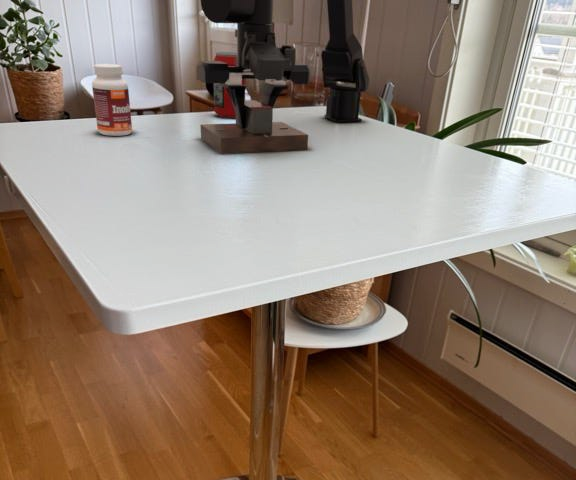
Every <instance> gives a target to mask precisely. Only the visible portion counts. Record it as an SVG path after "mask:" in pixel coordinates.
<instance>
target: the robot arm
mask: <svg viewBox="0 0 576 480" xmlns="http://www.w3.org/2000/svg"><path fill="white" fill-rule="evenodd" d="M200 6H201V10H202V12H203V14H204V16H205V18H206V19H207V20H209V21H210V22H212V23H214V24H236V28H237V29H234V37H235V38H236V53H237V58H235V65H237V66H228V64H227V63H224V62H220V61H214V60H199V61H198V62H197V64H196V68H195V71H196V72H195V73H196V80H197V81H200V82H202V83H204V84H214V83H219V85H220V86H222V87H225V88H226V90H227V92H228V95H229V97H230V99H231V101H232V103H233V106H234V109H235V112H236V115H237V118H238V121H239V123H240V126H241V128H242V129H244V128H245V103H244V94H245V95H246V90H247V86H246V85H245V86H244V85H242V79H245V80H247V79H250V80H255V79H256V80H258V81H261V93H260V95H261V97H260V98H261V99H260V103H261V104H264V105H266V106H271V107H272V108H273V109H274V106H275V104H276V102H277V99H278V98H279V96H280V95H281V94H282V92H283V91H285V90H289V86H290V85H288V84H287V81H291V83H292V84H294V85H309V84H310V83H311V70H310V68H309V66H308V64H304V63H299V62H296V57H297V56H296V48H295V46H294V45H292V44H291V45H289V44H282V45H281V46H280V47H277V44H276V33H275V32H273V18H274V17H273V16H274V13H273V11H274V0H200ZM326 8H327V21H328V35H329V38H328V41H327V43H326V46H325V48H324V49H323V50H322V51H321V54H320V57H321V58H320V59H321V72H322V77H323V78H322V81H323V82H322V83H323V88H324V89H328V88H329V91H328V95H327V97H326V108H325V109H326V110H325V114H324V115H323V117H324V118H326V119H328V120H330V121H334V122H335V123H343V122H344V123H349V122H362V121H363V119H362V118H361V117H359V116H360V115H359V114H360V106H361V105H360V104H361V95H362V92H367V91H368V88H369V83H370V77H369V74H368V71H367V67H366V63H365V60H364V54H363V47H362V45H361V44H360V42H359V40H358V38H357V37H356V35H355V33H354V15H353V0H326Z"/></svg>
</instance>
